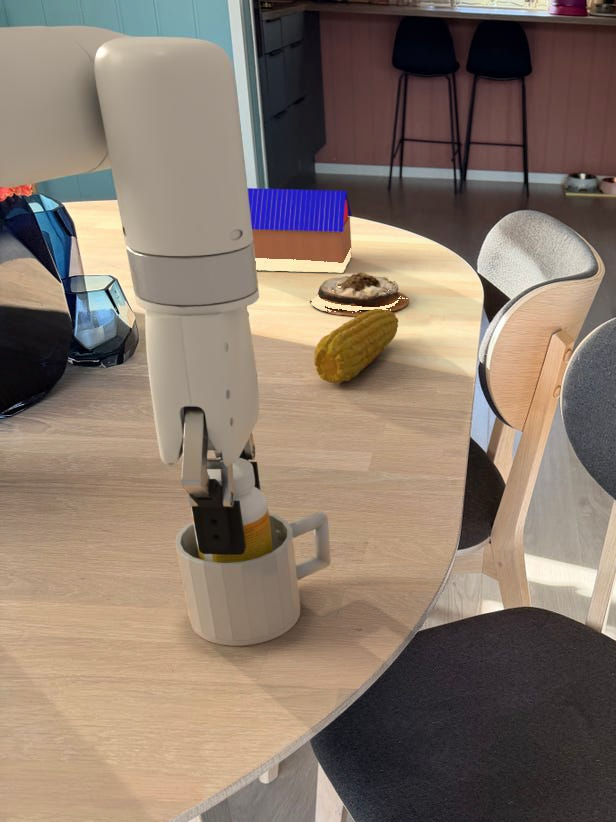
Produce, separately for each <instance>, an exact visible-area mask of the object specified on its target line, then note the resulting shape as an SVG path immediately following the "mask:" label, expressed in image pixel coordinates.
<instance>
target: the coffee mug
mask: <svg viewBox="0 0 616 822" xmlns="http://www.w3.org/2000/svg"><path fill="white" fill-rule="evenodd" d="M269 521H270V529H271V537H272V546H273V552H271V553H269V554H267V555H264V556H262V557H259V558H256V559H252V560H247V561H243V562H232V563H218V562H208V561H204V560H201V559H200V558H199V552H198V547H197V541H196V535H195V529H194V524H193V520H192V521H191V522H189V523H187V524H185V526H183V527H182V528H181V529H180V530H179V532H178V533H177V534H176V537H175V541H174V546H175V548H174V549H175V554H176V557H177V562H178V563H177V564H178V568H179V574H180V578H181V579H180V580H181V585H182V589H183V594H184V600H185V604H186V610H187V615H188V619H189V622H190V626H191V628H192V630H193V631H194V633H195V634H197V636H199V637H200V638H202V639H203V640H205V641H208V642H210V643H212V644H217V645H223V646H231V647H239V646H240V647H242V646H243V647H244V646H252V645H258V644H262V643H265V642H268V641H272V640H274V639H276V638H279V637H280V636H282V635H284V634H286V633H287V632H289V631H290V630H291V629H292V628H293V627H294V626H295V625H296V623H297V622H298V621H299V618H300V616H301V611H302V610H301V597H300V590H299V589H300V588H299V587H300V586H299V580H302V579H304V578H306V577H309V576H311V575H314V574H316V573H318V572H320V571H322V570H325V569H327V568H329V567H330V565H331V564H332V557H331V556H332V554H331V546H330V542H331V541H330V530H329V519H328V515H327V513H325V512H323V511H316V512H314V513H311V514H308V515H306V516H304V517H301V518H298V519H296V520H293V521H291V522H289V521H288V520H286V519H284V518H282V517H281V516H280V515H278V514H276V513H272V512H269ZM312 531H313V532H312ZM310 532H312V533H313V541H314V542H313V543H314V551H315V552H314V555H315V556H313V557H310V558H308V559H306V560H303V561H301V562H299V563H297V560H296V551H295V550H296V549H295V541H294V539H295V538H298V537H301V536H303V535H305V534H308V533H310Z"/></svg>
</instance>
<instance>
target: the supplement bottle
mask: <svg viewBox="0 0 616 822" xmlns="http://www.w3.org/2000/svg"><path fill="white" fill-rule="evenodd" d="M220 459H221V457H220ZM250 462H251V461H250V460H248V461H247V460H245V459H242V458H238V459H237V460H236V461H235V462H234V463H233V464H232V466H233V485H234V501H240V507H241V514H242V522H243V529H244V536H245V543H246V549H245V551H244V553H243V554H241V555H228V554H203V553H201V552H200V551H199V547H198V542H197V547H198V552H199V558H200V559H201V560H204V561H208V562H218V563H232V562H243V561H247V560H252V559H256V558H259V557H262V556H264V555H267V554H269V553H271V552H273V546H272V537H271V529H270V521H269V513H270V512H269V506H268V500H267V497H266V495H265V494H264V493H263V492H262V490H261V489H260V490H261V491H260V490H259V489H258V488H256V487H254V486H255V477H254V471H253V466H252V464H251V463H250ZM207 472H208V475H209V476H210V479H216V480H217V481H218V482H219V484H220V485H221V469H207ZM190 509H191V511H192V507H191V506H190ZM191 518H192V521H193V524H194V518H193V513H192V512H191ZM194 529H195V524H194ZM195 535H196V530H195ZM196 541H197V536H196Z"/></svg>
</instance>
